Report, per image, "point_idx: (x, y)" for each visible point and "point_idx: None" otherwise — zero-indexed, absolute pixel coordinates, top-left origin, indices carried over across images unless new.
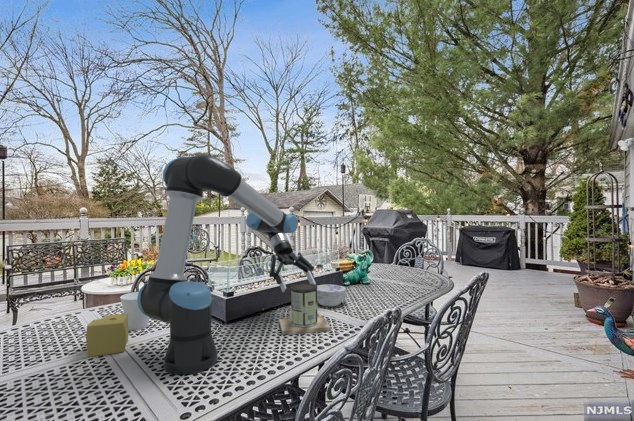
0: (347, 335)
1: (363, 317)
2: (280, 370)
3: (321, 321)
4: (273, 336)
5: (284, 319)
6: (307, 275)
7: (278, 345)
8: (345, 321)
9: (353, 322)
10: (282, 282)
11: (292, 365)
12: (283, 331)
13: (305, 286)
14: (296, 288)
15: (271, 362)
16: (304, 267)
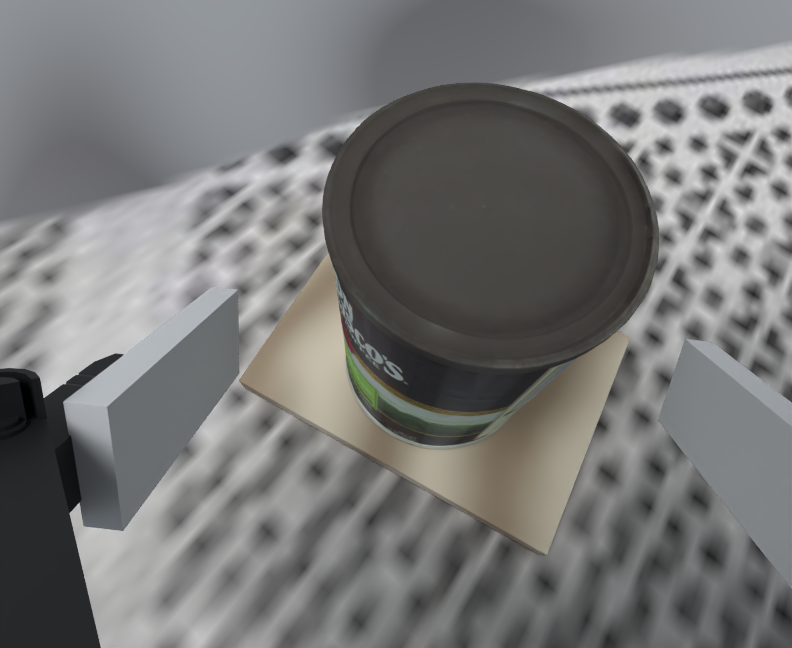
0: (337, 137)
1: (25, 247)
2: (766, 89)
3: (332, 304)
4: (673, 362)
5: (514, 515)
6: (147, 462)
7: (693, 252)
8: (169, 270)
9: (152, 229)
10: (772, 390)
11: (712, 90)
12: (622, 335)
13: (458, 219)
14: (603, 218)
15: (779, 148)
16: (69, 530)
